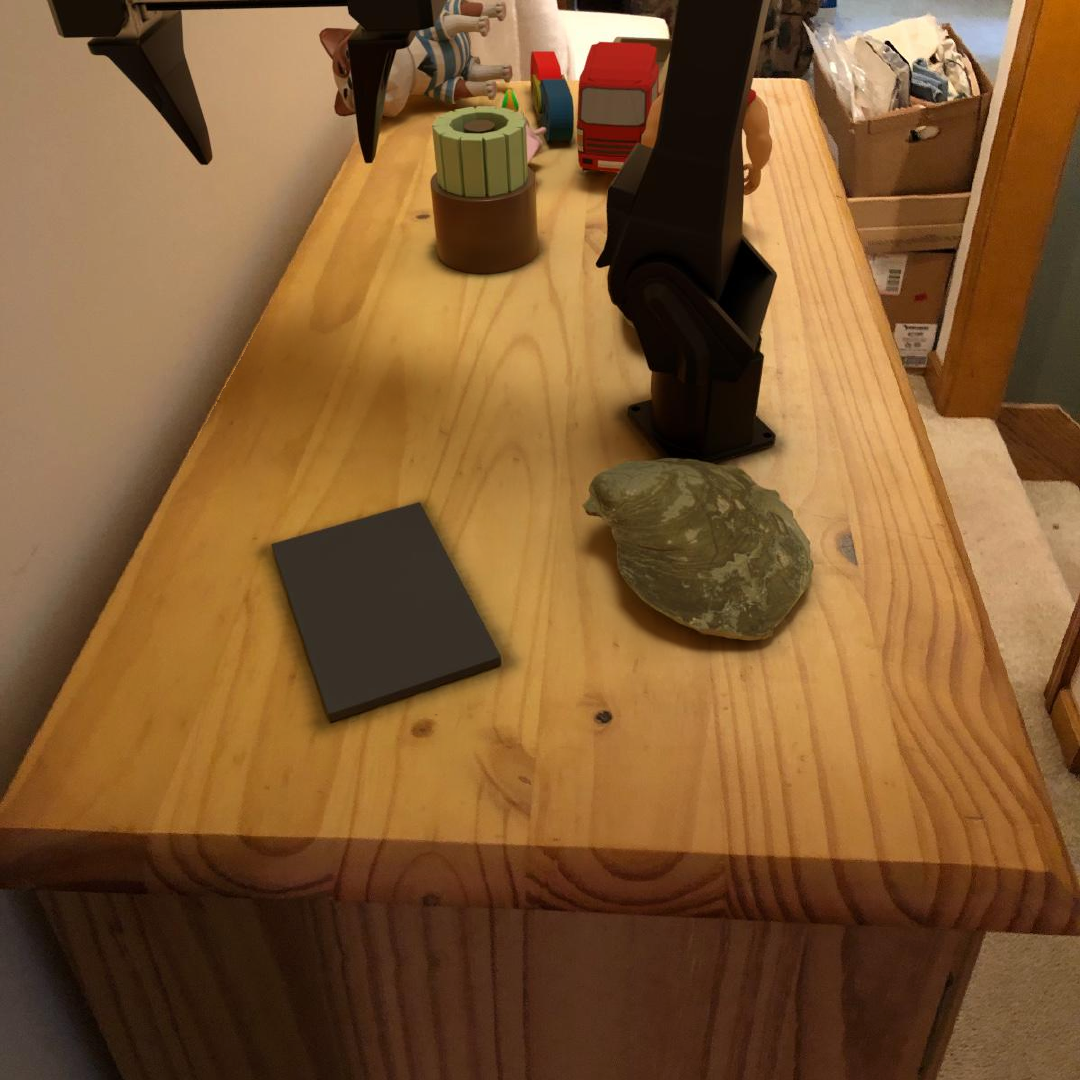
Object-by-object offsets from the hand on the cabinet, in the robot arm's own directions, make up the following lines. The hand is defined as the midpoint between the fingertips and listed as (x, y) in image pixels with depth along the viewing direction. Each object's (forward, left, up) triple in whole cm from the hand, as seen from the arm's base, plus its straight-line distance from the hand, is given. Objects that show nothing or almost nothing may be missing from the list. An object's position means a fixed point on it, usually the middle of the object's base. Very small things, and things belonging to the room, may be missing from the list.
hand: (288, 161), depth 56 cm
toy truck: (+25, -34, -14) cm, 44 cm away
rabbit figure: (+26, -23, -14) cm, 37 cm away
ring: (+12, -15, -8) cm, 21 cm away
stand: (+12, -15, -14) cm, 23 cm away
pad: (-21, +3, -14) cm, 26 cm away
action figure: (+8, -31, -14) cm, 35 cm away
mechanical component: (+36, -29, -12) cm, 47 cm away
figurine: (+40, -27, -9) cm, 49 cm away
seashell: (-25, -12, -14) cm, 31 cm away
